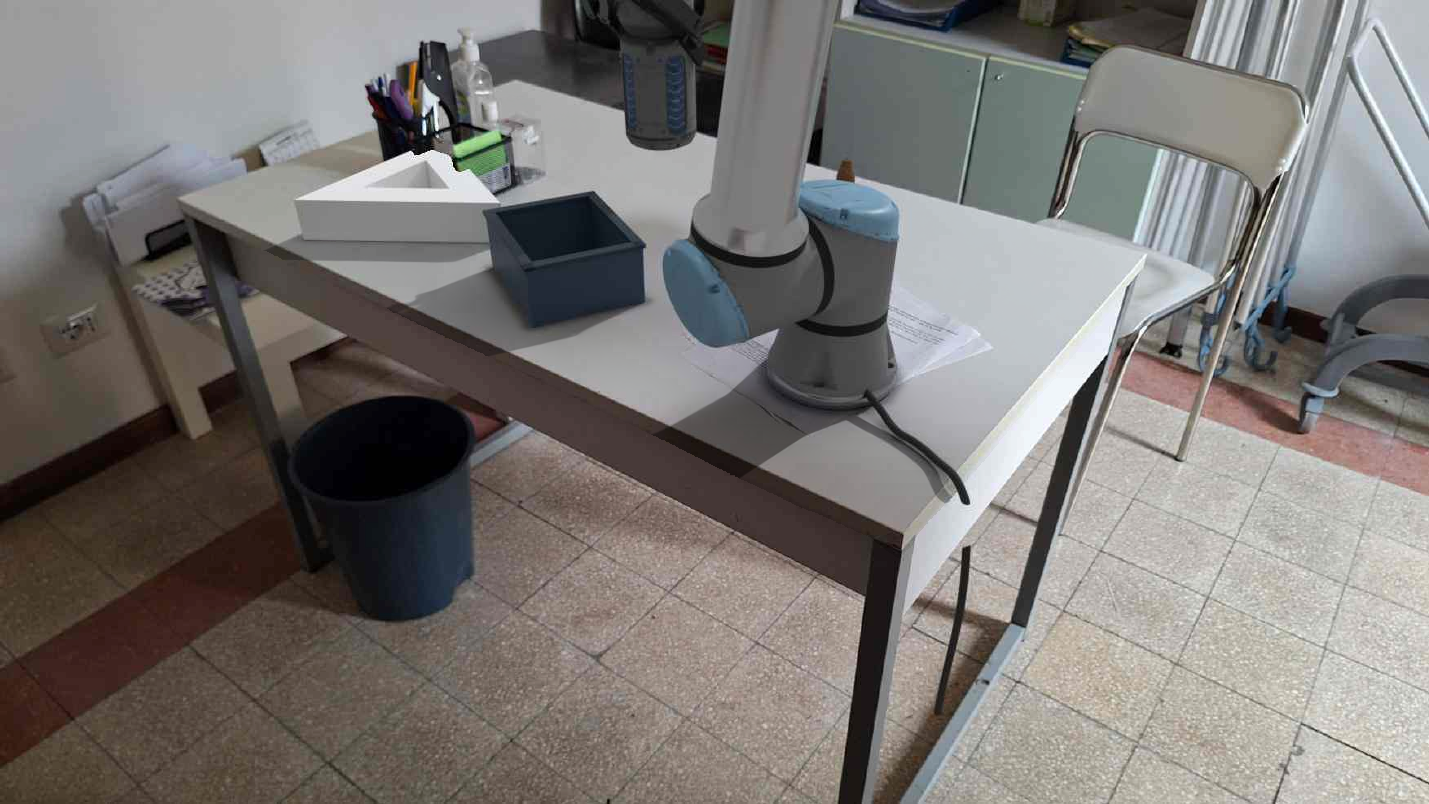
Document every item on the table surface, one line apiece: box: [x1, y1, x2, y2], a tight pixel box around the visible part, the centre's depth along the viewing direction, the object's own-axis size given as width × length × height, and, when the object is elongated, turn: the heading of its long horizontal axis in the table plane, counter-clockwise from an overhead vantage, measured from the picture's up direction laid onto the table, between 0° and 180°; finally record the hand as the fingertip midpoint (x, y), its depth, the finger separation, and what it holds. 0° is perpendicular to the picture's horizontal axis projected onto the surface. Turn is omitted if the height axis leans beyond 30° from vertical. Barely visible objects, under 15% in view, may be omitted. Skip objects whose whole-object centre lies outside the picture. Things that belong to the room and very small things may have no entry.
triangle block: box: [293, 150, 502, 244], centre depth 150 cm, size 30×26×6 cm
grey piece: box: [615, 0, 697, 152], centre depth 136 cm, size 10×13×25 cm
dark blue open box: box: [483, 190, 647, 328], centre depth 133 cm, size 19×16×9 cm
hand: (669, 51), depth 138 cm, fingers closed on grey piece, 11 cm apart
